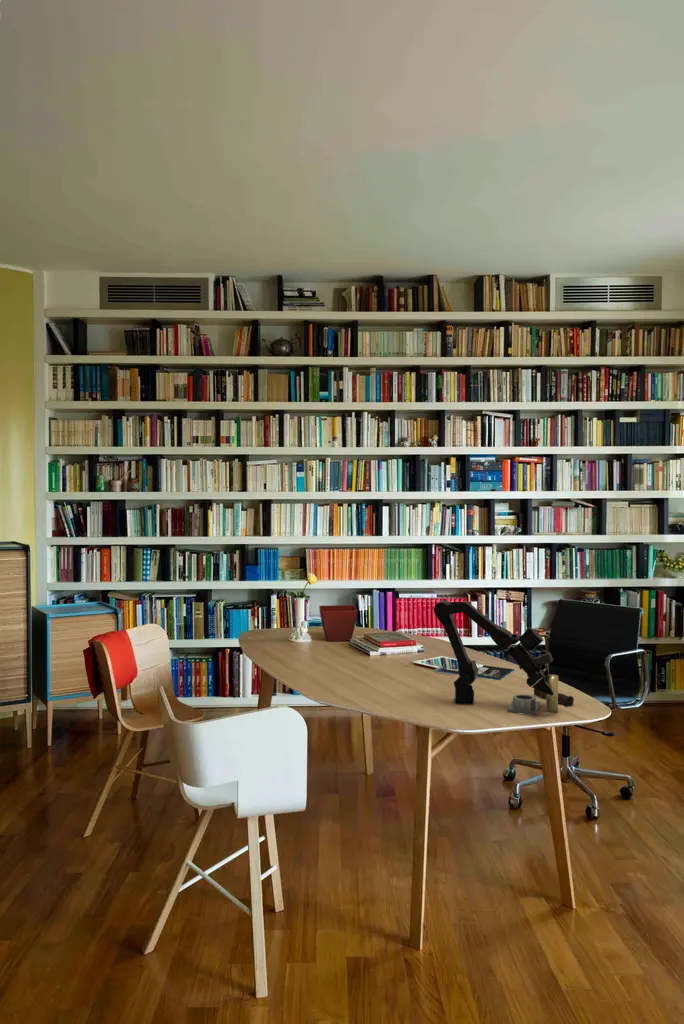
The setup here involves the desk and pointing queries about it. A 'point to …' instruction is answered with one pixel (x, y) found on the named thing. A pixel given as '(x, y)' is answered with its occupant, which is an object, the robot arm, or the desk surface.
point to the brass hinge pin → (552, 700)
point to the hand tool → (561, 697)
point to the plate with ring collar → (524, 704)
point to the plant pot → (338, 621)
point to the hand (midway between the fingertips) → (554, 691)
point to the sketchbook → (481, 672)
